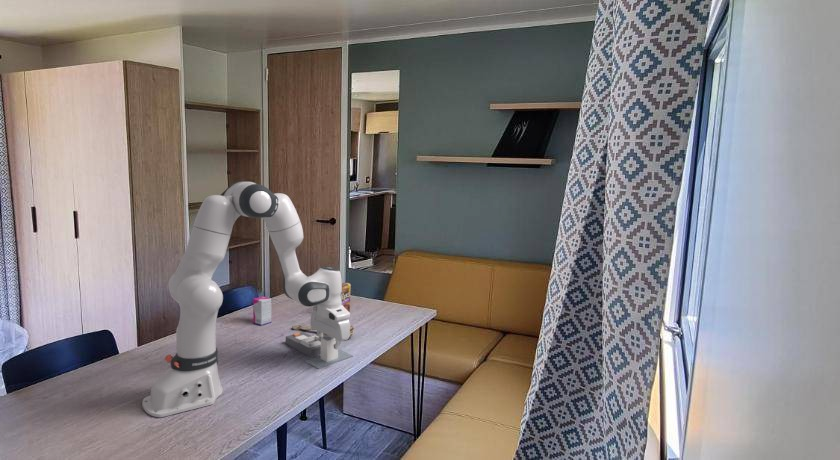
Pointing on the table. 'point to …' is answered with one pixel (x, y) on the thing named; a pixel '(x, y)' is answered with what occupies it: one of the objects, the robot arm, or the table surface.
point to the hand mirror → (297, 327)
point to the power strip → (305, 343)
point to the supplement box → (262, 311)
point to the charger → (328, 349)
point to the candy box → (346, 295)
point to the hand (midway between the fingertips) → (329, 345)
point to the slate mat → (321, 363)
